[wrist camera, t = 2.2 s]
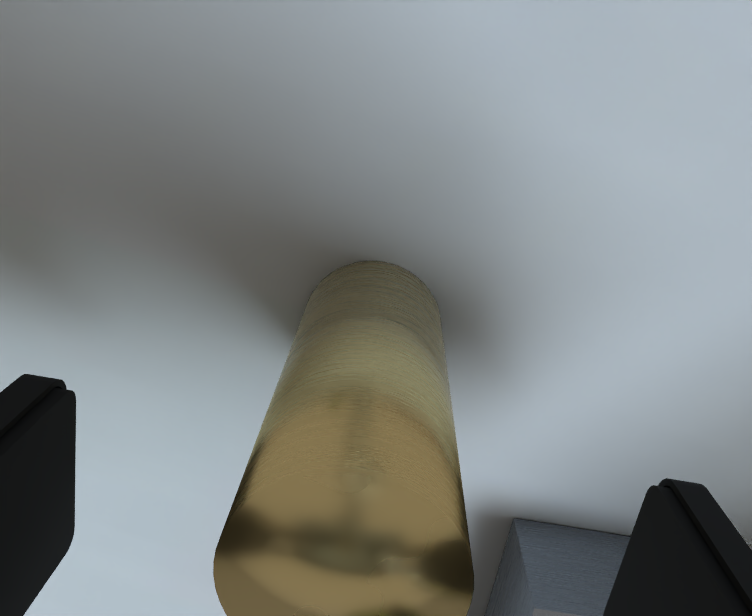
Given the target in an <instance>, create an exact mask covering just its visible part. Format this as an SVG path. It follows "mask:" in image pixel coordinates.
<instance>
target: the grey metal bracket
mask: <svg viewBox="0 0 752 616" xmlns="http://www.w3.org/2000/svg"><path fill="white" fill-rule="evenodd" d="M629 540H630V537H629V536H623V535H617V534H610V533H604V532H598V531H591V530H585V529H579V528H573V527H566V526H560V525H554V524H548V523H541V522H535V521H529V520H523V519H516V518H514V519H513V522H512V526H511V529H510V532H509V536H508V539H507V543H506V546H505V549H504V553H503V556H502V559H501V563H500V566H499V570H498V573H497V576H496V580H495V583H494V586H493V590H492V593H491V597H490V600H489V603H488V607H487V610H486V614H485V616H603V613H604V610H605V607H606V604H607V601H608V599H609V596H610V593H611V590H612V588H613V585H614V582H615V579H616V576H617V574H618V571H619V568H620V565H621V562H622V560H623V557H624V554H625V551H626V548H627V546H628V543H629Z"/></svg>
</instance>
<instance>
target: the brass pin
mask: <svg viewBox="0 0 752 616" xmlns="http://www.w3.org/2000/svg"><path fill="white" fill-rule="evenodd" d="M214 582H215V588H216V592H217V595H218V598H219V601H220V603H221V605H222V607H223V609H224V611H225V613H226V615H227V616H466V615H467V612H468V610H469V607H470V604H471V601H472V596H473V590H474V572H473V565H472V557H471V549H470V542H469V534H468V526H467V519H466V511H465V503H464V496H463V488H462V480H461V473H460V465H459V457H458V450H457V442H456V434H455V427H454V419H453V411H452V404H451V396H450V388H449V381H448V373H447V365H446V358H445V350H444V342H443V335H442V327H441V320H440V313H439V309H438V306H437V303H436V301H435V299H434V297H433V295H432V294H431V292H430V290H429V289H428V288H427V287H426V285H425V284H424V283H423V282H422V281H421V280H420V279H419V278H417V277H416V276H415V275H413V274H412V273H411V272H409V271H407V270H405V269H403V268H401V267H399V266H396V265H393V264H390V263H385V262H378V261H364V262H357V263H353V264H349V265H346V266H344V267H341V268H339V269H337V270H336V271H334V272H332V273H331V274H329V275H328V276H327V277H326V278H324V279H323V280H322V281H321V282H320V283H319V284H318V286H317V287H316V288H315V290H314V291H313V293H312V295H311V297H310V298H309V301H308V303H307V306H306V309H305V311H304V314H303V317H302V319H301V322H300V325H299V327H298V330H297V333H296V336H295V338H294V341H293V344H292V346H291V349H290V352H289V354H288V357H287V360H286V362H285V365H284V368H283V370H282V373H281V376H280V378H279V381H278V384H277V386H276V389H275V392H274V394H273V397H272V400H271V403H270V405H269V408H268V411H267V413H266V416H265V419H264V421H263V424H262V427H261V429H260V432H259V435H258V437H257V440H256V443H255V445H254V448H253V451H252V453H251V456H250V459H249V461H248V464H247V467H246V469H245V472H244V475H243V478H242V480H241V483H240V486H239V488H238V491H237V494H236V496H235V499H234V502H233V504H232V507H231V510H230V512H229V515H228V518H227V520H226V523H225V526H224V528H223V531H222V534H221V536H220V539H219V542H218V545H217V548H216V552H215V557H214Z"/></svg>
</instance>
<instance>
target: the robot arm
mask: <svg viewBox="0 0 752 616" xmlns="http://www.w3.org/2000/svg"><path fill="white" fill-rule="evenodd" d="M75 441H76V396H75V393H74V392H73V391H71V390H66V385H65V382H64V381H63V380H60V379H54V378H48V377H42V376H36V375H30V374H24V375H22V376H20V377H19V378H18V379H16V380H15V381H14V382H13V383H11V384H10V385H9V386H8V387H6V388H5V389H4V390H3V391H2V392H0V616H23V615H24V614H25V612H26V611H27V609H28V608H29V606H30V605H31V604H32V602H33V601H34V599H35V598H36V596H37V595H38V593H39V592H40V591H41V589H42V588H43V586H44V585H45V583H46V582H47V580H48V579H49V578H50V576H51V575H52V573H53V572H54V570H55V569H56V567H57V566H58V565H59V563H60V562H61V560H62V559H63V557H64V556H65V554H66V553H67V551H68V549H69V547H70V545H71V542H72V539H73V535H74V527H75ZM603 616H752V550H751V549H750V548H749V546H748V545H747V543H746V542H745V541H744V539H743V538H742V537H741V535H740V534H739V532H738V531H737V530H736V528H735V527H734V526H733V524H732V523H731V521H730V520H729V519H728V517H727V516H726V514H725V513H724V512H723V510H722V509H721V508H720V506H719V505H718V503H717V502H716V501H715V499H714V498H713V497H712V495H711V494H710V492H709V491H708V490H707V488H706V487H705V486H704V485H702V484H698V483H692V482H685V481H679V480H673V479H667V478H666V479H664V480H662V481H661V482H660V483H659V485H658V486H655V485H653V486H651V487H650V488H649V489H648V491H647V493H646V495H645V498H644V501H643V504H642V507H641V509H640V512H639V515H638V518H637V521H636V523H635V526H634V529H633V532H632V535H631V537H630V540H629V543H628V546H627V548H626V551H625V554H624V557H623V560H622V562H621V565H620V568H619V571H618V574H617V576H616V579H615V582H614V585H613V588H612V590H611V593H610V596H609V599H608V601H607V604H606V607H605V610H604V613H603Z"/></svg>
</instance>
